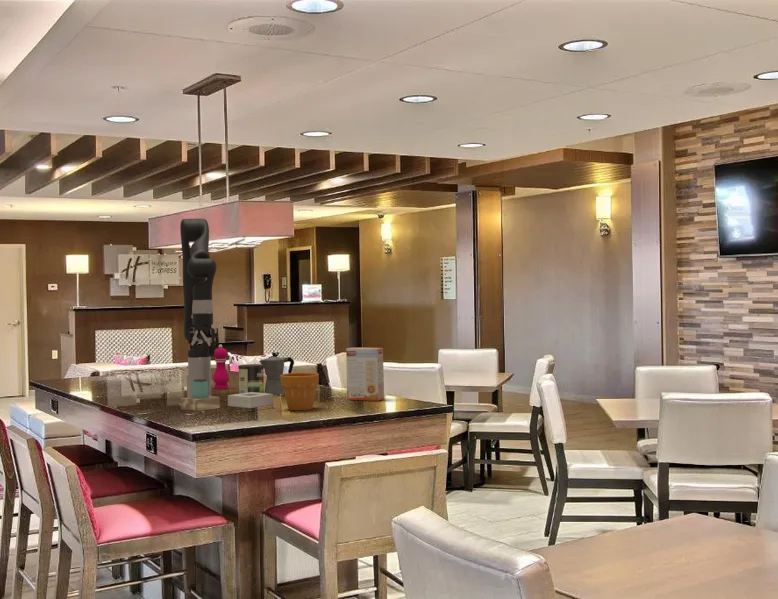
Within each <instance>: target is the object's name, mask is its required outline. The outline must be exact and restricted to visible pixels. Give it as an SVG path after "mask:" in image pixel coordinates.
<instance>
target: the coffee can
mask: <svg viewBox="0 0 778 599" xmlns="http://www.w3.org/2000/svg"><path fill="white" fill-rule="evenodd" d="M263 367H264V365H262V364H261V363H260V364H258V363H256V364H255V363H254V364H252V363H251V364H239V365H238V366H237V368H238V394H241V393H248V392H255V393H264V392H265V384H264V382H265V381H264V379H265V378H264V372H265V369H264V368H263Z"/></svg>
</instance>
